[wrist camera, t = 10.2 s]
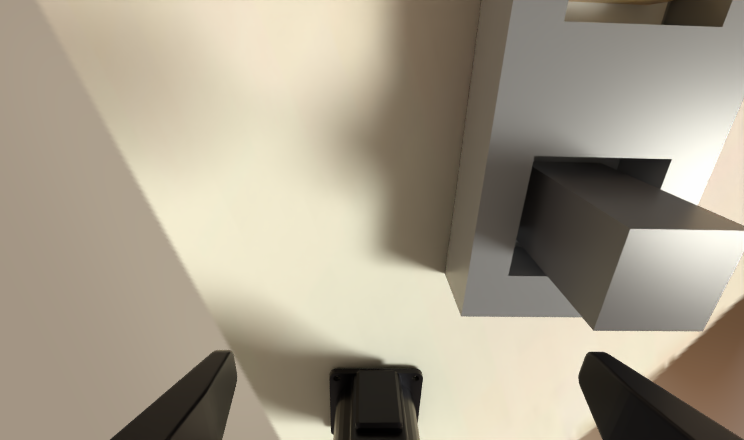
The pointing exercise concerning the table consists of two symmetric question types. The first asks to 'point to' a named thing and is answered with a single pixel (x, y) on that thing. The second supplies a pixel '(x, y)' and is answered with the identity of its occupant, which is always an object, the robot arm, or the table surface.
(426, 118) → the table surface
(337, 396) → the robot arm
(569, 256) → the dark gray plug
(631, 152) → the grey piece
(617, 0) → the amber plug
